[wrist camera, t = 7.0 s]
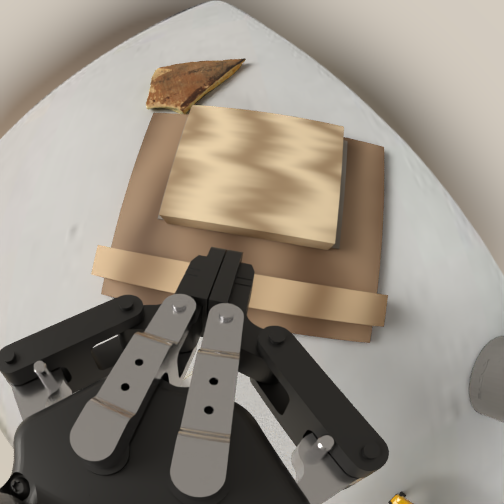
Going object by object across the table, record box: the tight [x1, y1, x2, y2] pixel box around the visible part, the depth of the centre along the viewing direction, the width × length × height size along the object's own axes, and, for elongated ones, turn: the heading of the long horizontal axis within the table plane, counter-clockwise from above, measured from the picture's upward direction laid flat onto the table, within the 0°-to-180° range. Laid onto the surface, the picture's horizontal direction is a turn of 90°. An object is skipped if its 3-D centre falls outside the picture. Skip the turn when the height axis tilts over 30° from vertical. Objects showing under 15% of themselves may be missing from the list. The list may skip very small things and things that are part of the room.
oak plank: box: [159, 105, 344, 250], centre depth 26 cm, size 14×2×11 cm
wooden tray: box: [91, 113, 388, 343], centre depth 26 cm, size 24×19×4 cm
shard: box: [146, 59, 246, 114], centre depth 30 cm, size 11×8×2 cm
